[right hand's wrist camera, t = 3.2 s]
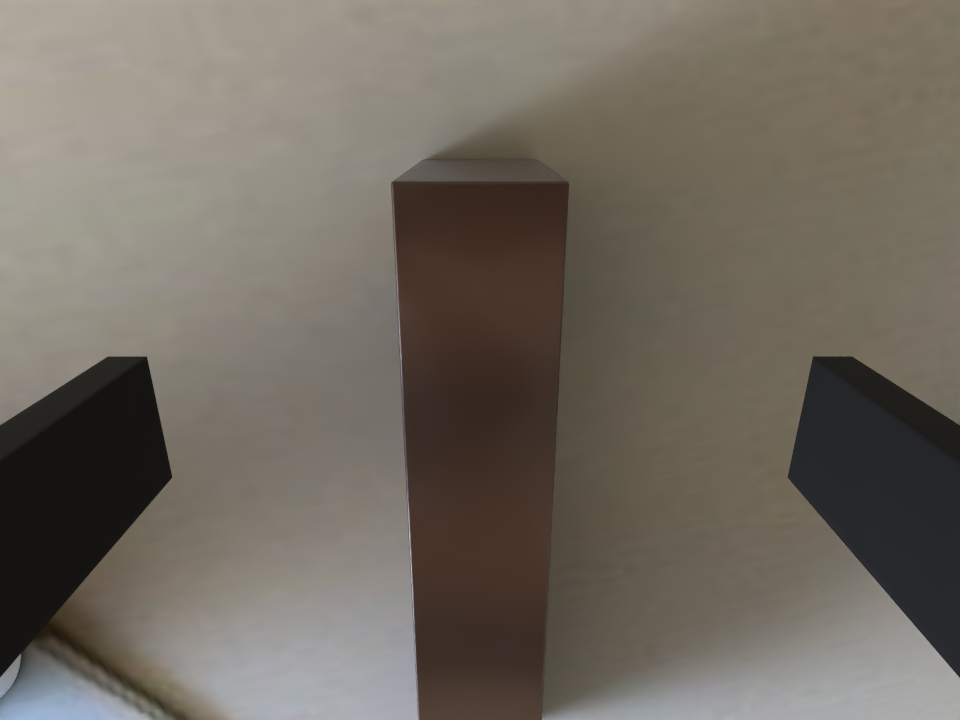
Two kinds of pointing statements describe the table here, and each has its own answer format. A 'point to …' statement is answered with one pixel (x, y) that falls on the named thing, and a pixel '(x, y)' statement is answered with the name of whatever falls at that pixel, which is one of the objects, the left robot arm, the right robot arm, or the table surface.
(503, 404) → the walnut box
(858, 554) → the right robot arm
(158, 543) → the table surface
